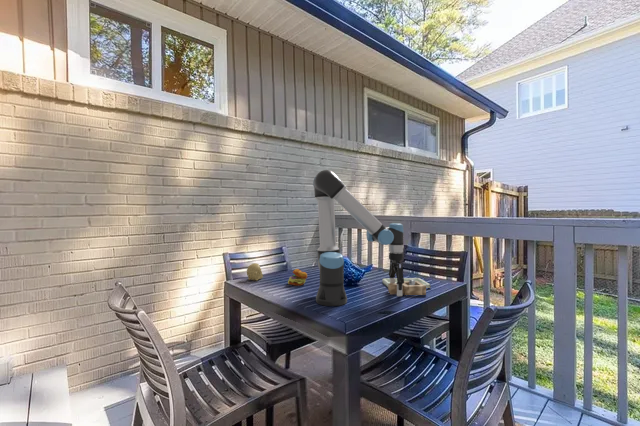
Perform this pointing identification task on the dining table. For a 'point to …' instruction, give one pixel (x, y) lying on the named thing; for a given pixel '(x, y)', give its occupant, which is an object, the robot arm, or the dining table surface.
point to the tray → (407, 280)
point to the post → (411, 282)
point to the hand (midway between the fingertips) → (395, 292)
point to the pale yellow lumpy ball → (254, 272)
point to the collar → (408, 288)
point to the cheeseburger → (298, 278)
